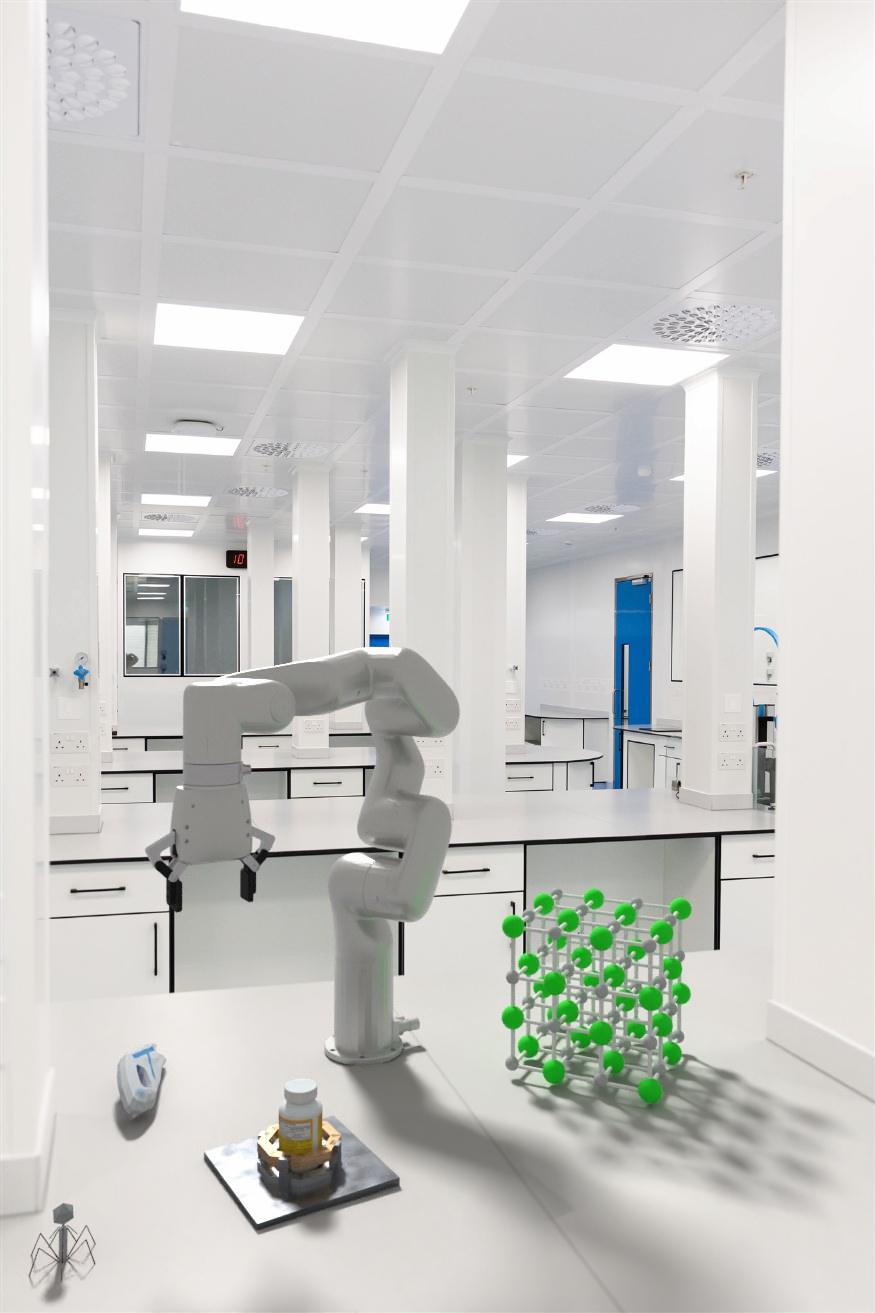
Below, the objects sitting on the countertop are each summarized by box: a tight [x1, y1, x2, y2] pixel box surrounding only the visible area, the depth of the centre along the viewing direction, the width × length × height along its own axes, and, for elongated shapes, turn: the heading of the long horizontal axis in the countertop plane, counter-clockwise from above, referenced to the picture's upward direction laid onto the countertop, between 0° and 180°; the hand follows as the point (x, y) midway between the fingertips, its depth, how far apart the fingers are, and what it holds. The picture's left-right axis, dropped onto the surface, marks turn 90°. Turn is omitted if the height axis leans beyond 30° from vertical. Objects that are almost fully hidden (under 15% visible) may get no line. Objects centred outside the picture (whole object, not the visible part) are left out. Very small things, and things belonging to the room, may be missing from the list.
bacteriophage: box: [28, 1202, 96, 1282], centre depth 102 cm, size 7×8×7 cm
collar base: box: [203, 1115, 401, 1231], centre depth 120 cm, size 18×18×4 cm
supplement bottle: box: [278, 1077, 323, 1173], centre depth 120 cm, size 5×5×10 cm
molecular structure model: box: [501, 887, 693, 1105], centre depth 153 cm, size 24×25×24 cm
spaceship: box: [116, 1043, 167, 1116], centre depth 141 cm, size 23×7×4 cm
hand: (212, 904), depth 129 cm, fingers open, 9 cm apart
